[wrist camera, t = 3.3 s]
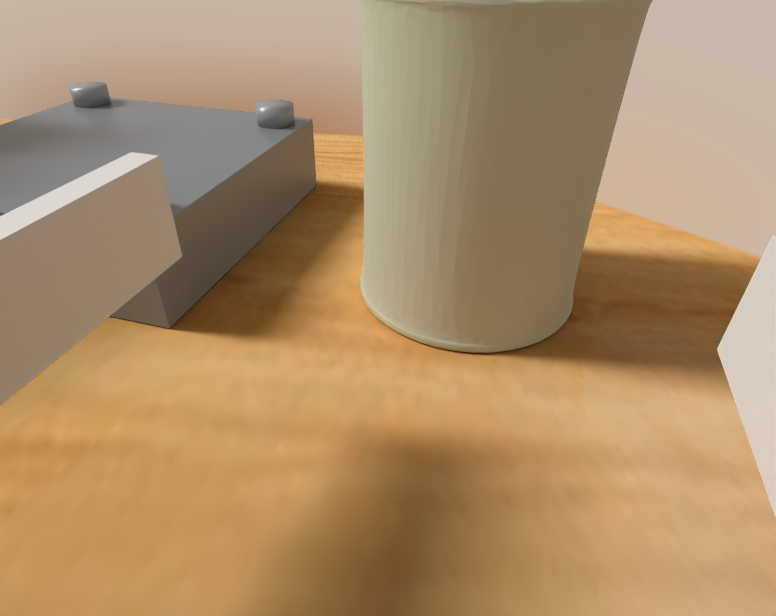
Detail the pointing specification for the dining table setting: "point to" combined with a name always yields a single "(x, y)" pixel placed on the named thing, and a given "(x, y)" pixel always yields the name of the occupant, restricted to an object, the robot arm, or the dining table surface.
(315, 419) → the dining table surface
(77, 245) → the robot arm
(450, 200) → the can
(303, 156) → the base brick
